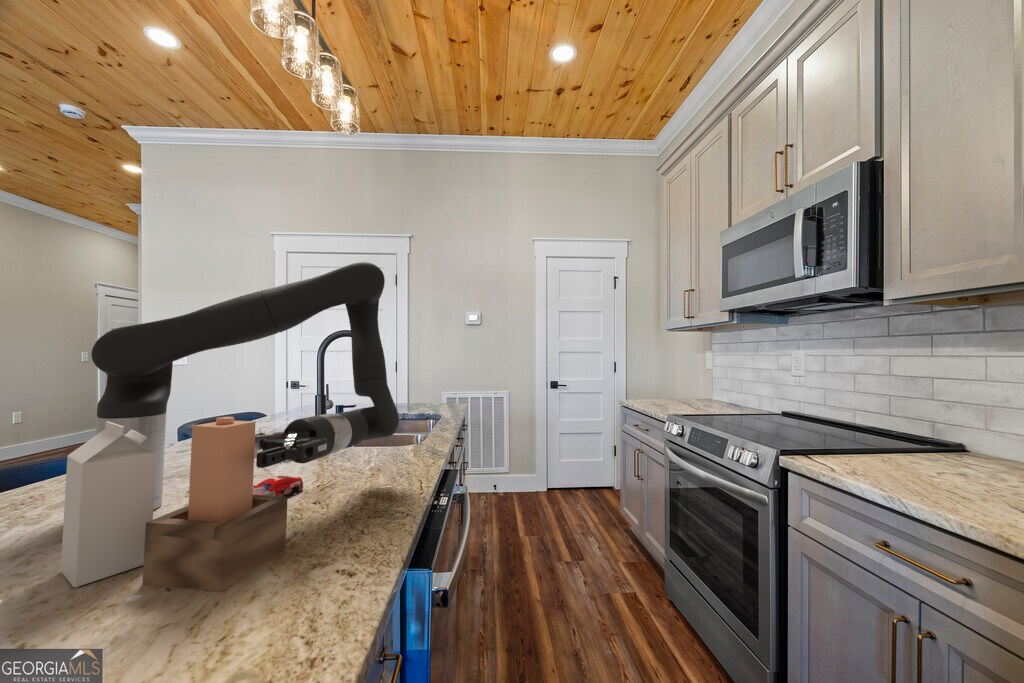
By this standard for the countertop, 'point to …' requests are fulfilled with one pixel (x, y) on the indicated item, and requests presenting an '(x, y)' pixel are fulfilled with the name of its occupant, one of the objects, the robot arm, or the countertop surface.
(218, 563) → the wooden box
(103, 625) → the countertop surface
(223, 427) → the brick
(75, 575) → the milk carton
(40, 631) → the countertop surface
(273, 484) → the race car
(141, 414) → the robot arm
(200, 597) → the countertop surface
